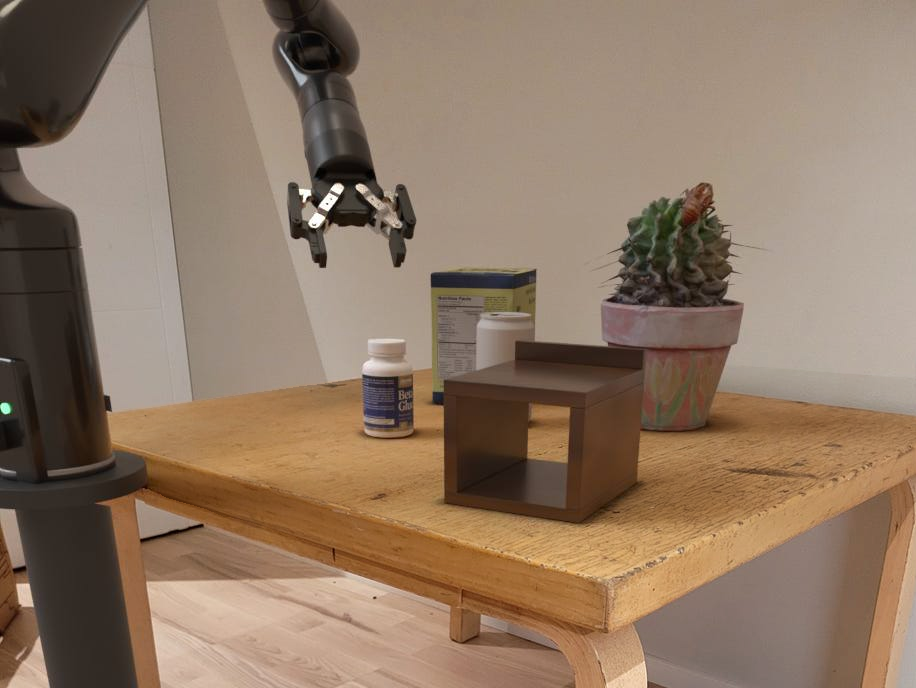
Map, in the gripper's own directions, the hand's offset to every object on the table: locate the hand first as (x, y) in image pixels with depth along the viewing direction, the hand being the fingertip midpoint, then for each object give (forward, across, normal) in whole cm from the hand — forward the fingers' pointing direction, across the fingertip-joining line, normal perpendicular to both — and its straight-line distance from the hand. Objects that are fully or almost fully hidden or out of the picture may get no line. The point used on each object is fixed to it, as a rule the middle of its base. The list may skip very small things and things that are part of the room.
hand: (361, 262), depth 107 cm
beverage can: (+19, +14, +5) cm, 24 cm away
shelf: (+39, +7, -16) cm, 43 cm away
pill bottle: (+20, 0, +4) cm, 21 cm away
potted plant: (+22, +31, +3) cm, 38 cm away
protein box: (+6, +17, +18) cm, 26 cm away
